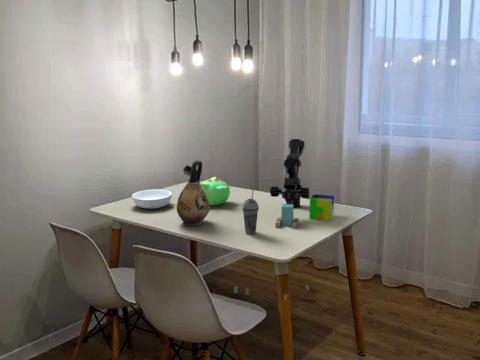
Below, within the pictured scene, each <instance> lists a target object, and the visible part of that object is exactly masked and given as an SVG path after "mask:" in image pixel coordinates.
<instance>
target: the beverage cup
mask: <svg viewBox="0 0 480 360" xmlns="http://www.w3.org/2000/svg"><path fill="white" fill-rule="evenodd" d="M251 191H252V192H251V197H250V198H249V199H246V200H245V201H244V202H243V204H242V207H241V208H242V214H243V220H244V221H243V222H244V231H245V234H246V235H249V236H250V235H252V236H253V235H256V233H257V224H258V223H257V222H258V213H259V209H260V208H259V203H258V202H257V201H256V200H255V199H254V191H255V190H254V188H253V189H252V190H251Z"/></svg>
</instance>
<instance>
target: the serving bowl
mask: <svg viewBox="0 0 480 360" xmlns="http://www.w3.org/2000/svg"><path fill="white" fill-rule="evenodd" d="M172 194H173V193H172V192H171V191H169V190H166V189H145V190H139V191H136V192H134V193H133V194H132V195H131V197H132V201H133V203H134V204H135V205H136V206H137V207H139V208H142V209H149V210H151V209H152V210H154V209H159V208H162V207H165V206H167V205H168V204H169V203H170V202H171V199H172Z"/></svg>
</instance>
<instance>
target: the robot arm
mask: <svg viewBox="0 0 480 360" xmlns="http://www.w3.org/2000/svg"><path fill="white" fill-rule="evenodd" d="M305 146H306V143H305V141H304V140H301V139H300V138H292V139H290V140H289V141H288V149H289V154H288V155H286V157H285V159H284V162H283V167H284V172H285V177H284V178H283V188H281V189H279V186H274V185H272V186H270V188H269V194H270V196H271V197H273V198H274V197H279V196H280V194H281V197H282V199H284V201H285V204H294V206H293V209H296V208H297V209H298V208H302V205H301V198H302V199H309V198H310V188H309V187H304V186H302V184H301V179H300V177H299V174H300V173H299V172H300V171H299V170H300V167H301V166H302V162H301V156H302V155H303V154H304V150H305V149H306V147H305Z"/></svg>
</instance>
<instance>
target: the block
mask: <svg viewBox="0 0 480 360" xmlns="http://www.w3.org/2000/svg"><path fill="white" fill-rule="evenodd" d="M293 206H294V204H286V203H283V204H281V217H282V223H281V226H283V227H284V226H288V227H292V223H293V220H294V208H293Z"/></svg>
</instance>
